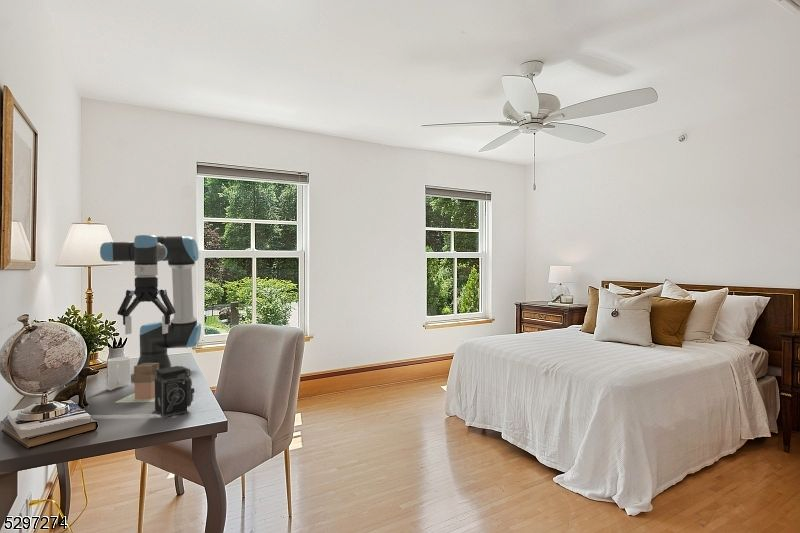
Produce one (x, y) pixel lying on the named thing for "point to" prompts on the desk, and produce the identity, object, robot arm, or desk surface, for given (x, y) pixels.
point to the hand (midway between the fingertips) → (146, 333)
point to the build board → (132, 398)
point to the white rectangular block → (119, 372)
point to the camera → (173, 390)
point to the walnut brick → (145, 372)
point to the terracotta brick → (145, 390)
